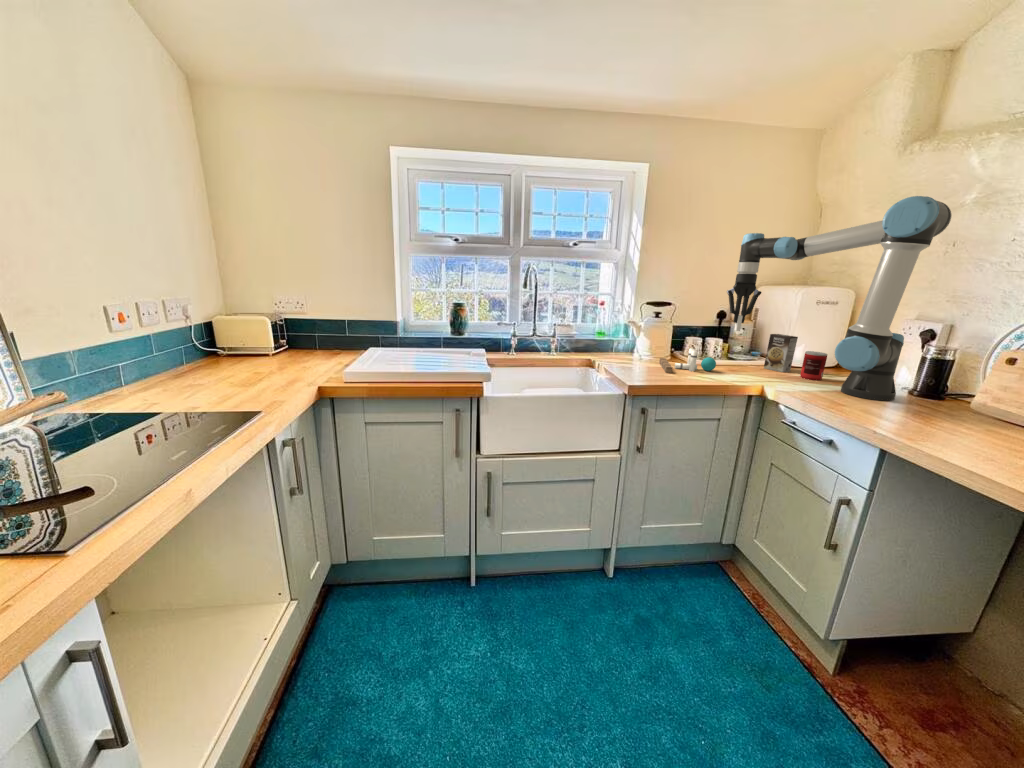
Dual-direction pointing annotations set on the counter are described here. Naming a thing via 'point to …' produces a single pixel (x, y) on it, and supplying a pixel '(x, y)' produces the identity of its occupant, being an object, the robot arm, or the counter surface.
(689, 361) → the back pin far
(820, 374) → the canned food
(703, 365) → the ball
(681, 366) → the front pin
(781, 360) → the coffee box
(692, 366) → the back pin near
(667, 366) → the rail
